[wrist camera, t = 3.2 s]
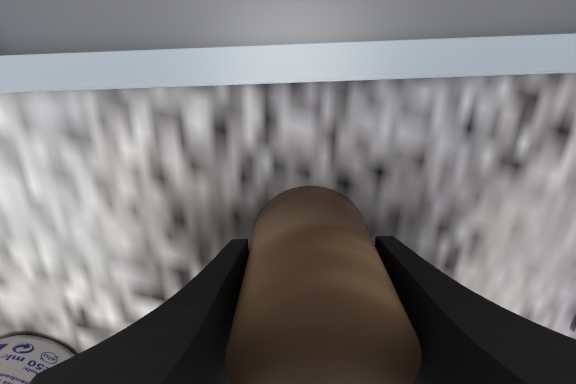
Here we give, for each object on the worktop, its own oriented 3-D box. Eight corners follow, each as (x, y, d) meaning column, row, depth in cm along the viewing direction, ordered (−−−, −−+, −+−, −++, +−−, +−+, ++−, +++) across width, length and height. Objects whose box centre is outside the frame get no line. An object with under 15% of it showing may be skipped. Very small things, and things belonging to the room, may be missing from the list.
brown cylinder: (368, 184, 12) (436, 289, 6) (360, 279, 14) (408, 425, 8) (249, 187, 12) (212, 293, 6) (258, 281, 14) (235, 426, 8)
